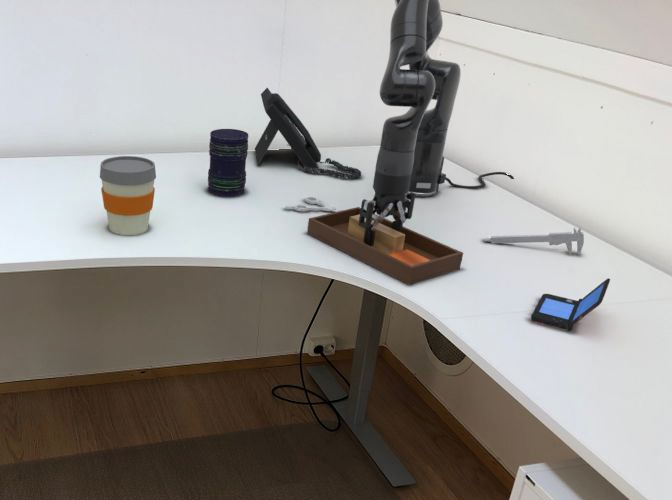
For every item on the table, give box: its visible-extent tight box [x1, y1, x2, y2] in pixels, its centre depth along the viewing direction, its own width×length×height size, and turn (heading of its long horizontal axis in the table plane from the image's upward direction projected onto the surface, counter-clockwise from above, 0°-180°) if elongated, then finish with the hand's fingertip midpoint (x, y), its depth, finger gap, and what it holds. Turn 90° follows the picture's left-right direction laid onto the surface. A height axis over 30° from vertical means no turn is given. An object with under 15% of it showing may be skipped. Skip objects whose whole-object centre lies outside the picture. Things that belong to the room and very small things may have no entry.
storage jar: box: [207, 128, 249, 198], centre depth 203 cm, size 10×10×15 cm
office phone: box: [254, 87, 362, 180], centre depth 225 cm, size 29×28×20 cm
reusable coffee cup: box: [99, 155, 157, 236], centre depth 179 cm, size 13×13×15 cm
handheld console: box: [530, 277, 611, 332], centre depth 149 cm, size 12×11×7 cm
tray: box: [306, 206, 464, 286], centre depth 175 cm, size 16×32×4 cm, turn 34°
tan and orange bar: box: [347, 215, 430, 266], centre depth 173 cm, size 6×22×4 cm, turn 34°
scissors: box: [285, 196, 344, 213], centre depth 196 cm, size 11×1×20 cm
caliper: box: [484, 227, 585, 255], centre depth 178 cm, size 20×1×6 cm, turn 72°
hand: (381, 241), depth 175 cm, fingers open, 7 cm apart
